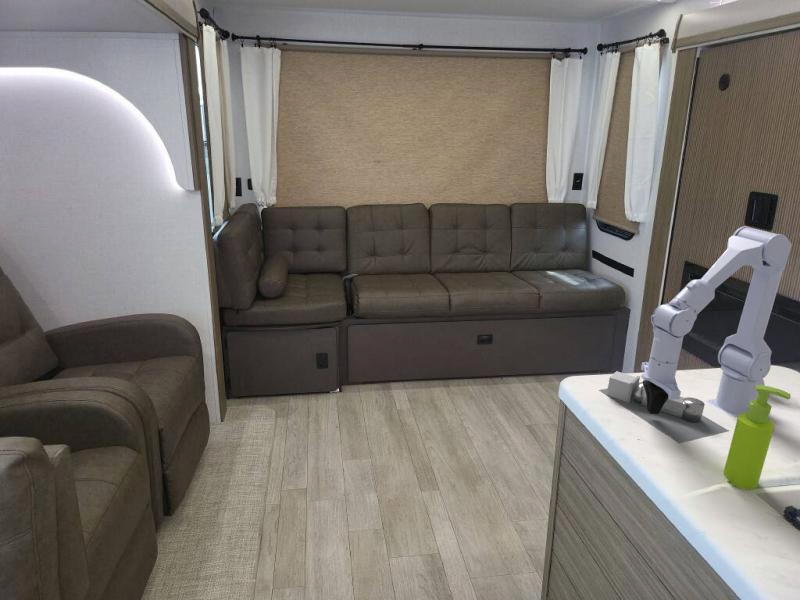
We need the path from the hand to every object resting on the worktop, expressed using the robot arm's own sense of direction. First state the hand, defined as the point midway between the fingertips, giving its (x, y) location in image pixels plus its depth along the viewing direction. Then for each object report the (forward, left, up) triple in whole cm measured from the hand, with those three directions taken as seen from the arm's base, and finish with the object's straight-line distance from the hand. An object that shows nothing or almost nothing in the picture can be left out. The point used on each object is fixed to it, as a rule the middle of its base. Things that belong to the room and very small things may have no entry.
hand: (653, 412), depth 129 cm
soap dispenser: (0, +23, -2) cm, 24 cm away
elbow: (-6, -1, -1) cm, 6 cm away
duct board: (-5, -3, -2) cm, 6 cm away
